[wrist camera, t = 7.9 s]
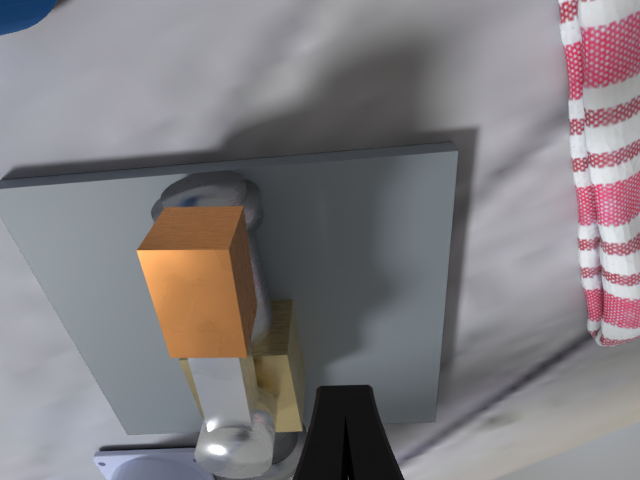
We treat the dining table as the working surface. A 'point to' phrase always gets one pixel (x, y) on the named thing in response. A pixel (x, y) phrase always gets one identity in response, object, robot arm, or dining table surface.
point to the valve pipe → (271, 317)
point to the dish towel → (606, 158)
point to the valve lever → (213, 330)
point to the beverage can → (22, 14)
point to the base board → (279, 268)
